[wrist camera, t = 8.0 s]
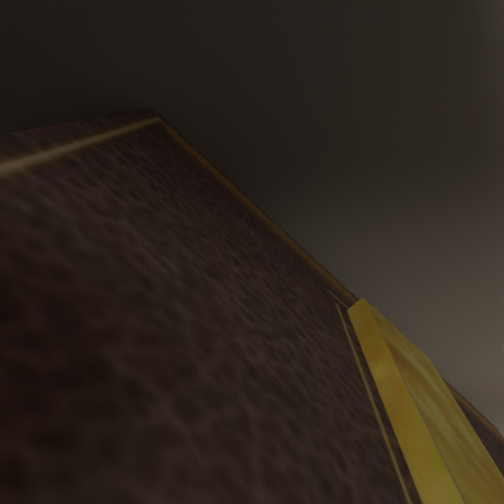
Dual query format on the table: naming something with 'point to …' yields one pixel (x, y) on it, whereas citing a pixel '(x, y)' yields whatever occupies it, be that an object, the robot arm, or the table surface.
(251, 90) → the table surface
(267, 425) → the book
